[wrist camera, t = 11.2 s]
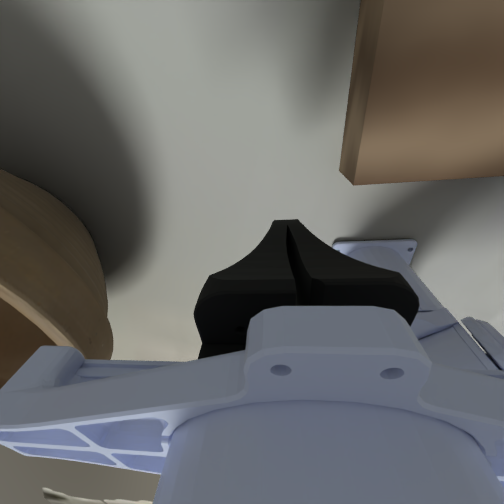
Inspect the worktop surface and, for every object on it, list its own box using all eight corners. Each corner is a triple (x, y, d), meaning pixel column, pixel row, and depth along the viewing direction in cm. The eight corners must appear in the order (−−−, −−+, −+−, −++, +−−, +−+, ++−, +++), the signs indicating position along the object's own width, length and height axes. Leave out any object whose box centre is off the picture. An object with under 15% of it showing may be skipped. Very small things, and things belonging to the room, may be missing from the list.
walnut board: (495, 159, 18) (547, 173, 14) (339, 170, 19) (353, 185, 16) (622, -98, 11) (774, -185, 8) (367, -53, 12) (403, -111, 9)
